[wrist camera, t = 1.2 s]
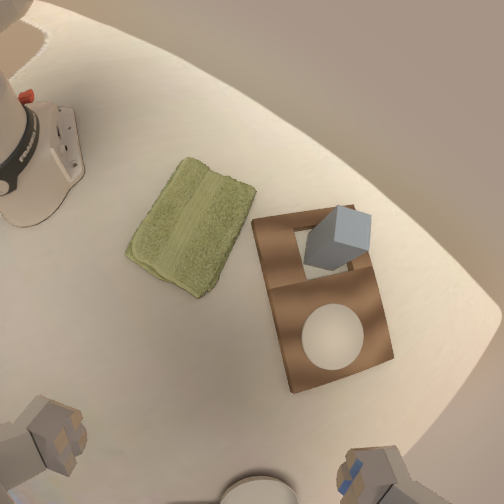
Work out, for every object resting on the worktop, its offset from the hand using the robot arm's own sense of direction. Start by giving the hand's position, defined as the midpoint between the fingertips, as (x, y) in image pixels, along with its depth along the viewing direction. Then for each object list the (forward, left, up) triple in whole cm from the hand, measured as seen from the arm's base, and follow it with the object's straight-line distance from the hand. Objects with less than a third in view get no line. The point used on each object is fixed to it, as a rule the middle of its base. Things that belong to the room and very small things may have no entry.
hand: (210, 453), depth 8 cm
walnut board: (-6, +19, -33) cm, 38 cm away
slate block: (-12, +20, -33) cm, 40 cm away
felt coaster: (+1, +18, -31) cm, 36 cm away
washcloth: (-19, +3, -34) cm, 39 cm away
